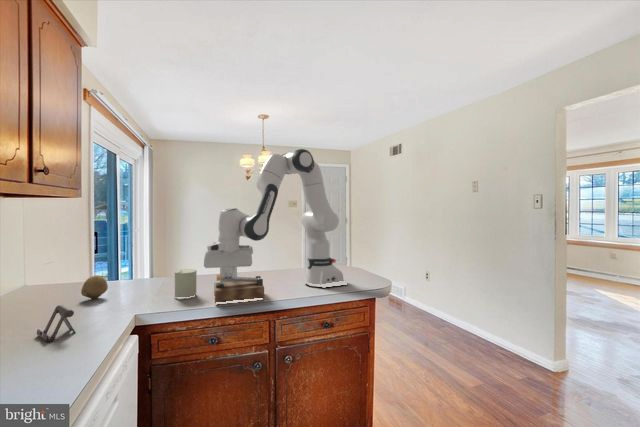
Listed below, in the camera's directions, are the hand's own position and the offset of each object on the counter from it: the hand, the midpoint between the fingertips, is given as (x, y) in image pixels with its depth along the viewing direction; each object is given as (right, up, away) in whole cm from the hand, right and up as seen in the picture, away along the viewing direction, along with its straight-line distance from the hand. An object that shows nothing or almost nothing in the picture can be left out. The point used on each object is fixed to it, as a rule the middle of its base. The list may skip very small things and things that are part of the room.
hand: (228, 277), depth 135 cm
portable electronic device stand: (-42, -11, -39) cm, 58 cm away
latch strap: (+4, -2, +2) cm, 5 cm away
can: (-20, -10, +4) cm, 22 cm away
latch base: (+4, -10, +2) cm, 11 cm away
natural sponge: (-57, -9, -2) cm, 57 cm away
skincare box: (-5, -9, +19) cm, 22 cm away
